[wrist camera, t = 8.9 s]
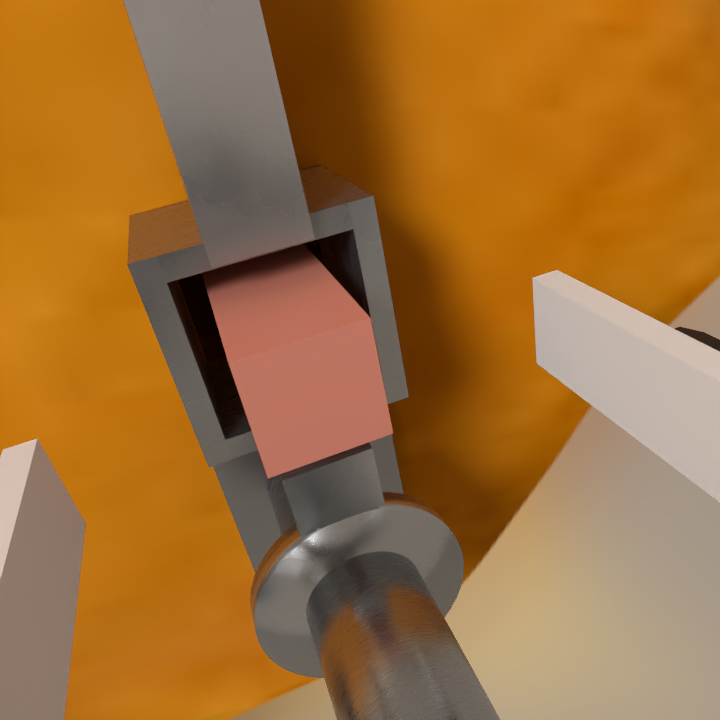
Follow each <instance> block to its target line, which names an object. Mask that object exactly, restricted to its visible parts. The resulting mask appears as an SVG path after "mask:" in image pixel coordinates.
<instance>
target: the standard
mask: <svg viewBox="0 0 720 720" xmlns="http://www.w3.org/2000/svg"><path fill="white" fill-rule="evenodd" d="M213 467H214V470H215V472H216V475H217V477H218V480H219V482H220V485H221V487H222V490H223V492H224V495H225V497H226V500H227V502H228V505H229V507H230V510H231V512H232V515H233V518H234V520H235V523H236V525H237V528H238V530H239V533H240V535H241V538H242V540H243V543H244V545H245V548H246V550H247V553H248V555H249V558H250V560H251V563H252V565H253V568H254V571H255V573H256V574H255V576H254V579H253V584H252V588H251V599H250V601H251V610H252V615H253V620H254V625H255V629H256V634H257V637H258V640H259V643H260V645H261V647H262V648H263V650H264V652H265V653H266V654H267V655H268V656H269V658H270V659H271V660H273V661H274V662H275V663H276V664H277V665H279V666H281V667H282V668H284V669H286V670H288V671H291V672H293V673H296V674H299V675H304V676H308V677H318V678H325V681H326V685H327V688H328V691H329V695H330V698H331V701H332V704H333V708H334V711H335V714H336V717H337V720H500V718H499V717H498V715H497V713H496V711H495V709H494V707H493V706H492V704H491V702H490V700H489V698H488V697H487V695H486V693H485V691H484V689H483V688H482V686H481V684H480V682H479V680H478V678H477V677H476V675H475V673H474V671H473V669H472V668H471V666H470V664H469V662H468V660H467V659H466V657H465V655H464V653H463V651H462V649H461V647H460V646H459V644H458V642H457V640H456V638H455V637H454V635H453V633H452V631H451V629H450V627H449V626H448V624H447V622H446V620H445V619H444V617H445V616H446V614H447V613H448V611H449V610H450V609H451V607H452V605H453V603H454V601H455V599H456V598H457V595H458V593H459V590H460V587H461V583H462V579H463V572H464V560H463V554H462V550H461V547H460V545H459V543H458V541H457V539H456V537H455V536H454V534H453V533H452V531H451V530H450V528H449V527H448V525H447V524H446V522H445V521H444V519H443V518H442V517H441V515H440V514H439V513H438V512H437V511H436V510H435V509H434V508H433V507H431V506H430V505H428V504H427V503H425V502H424V501H421V500H419V499H417V498H415V497H412V496H408V495H405V494H404V493H403V488H402V483H401V478H400V473H399V468H398V463H397V458H396V453H395V448H394V443H393V438H392V434H390V435H387V436H385V437H382V438H379V439H376V440H374V441H371V442H368V443H365V444H362V445H360V446H357V447H354V448H351V449H349V450H346V451H343V452H340V453H338V454H335V455H332V456H329V457H326V458H324V459H321V460H318V461H315V462H313V463H310V464H307V465H304V466H302V467H299V468H296V469H293V470H290V471H288V472H285V473H282V474H279V475H277V476H274V477H271V478H268V477H267V474H266V471H265V468H264V465H263V463H262V460H261V457H260V454H259V451H258V450H257V451H254V452H251V453H248V454H245V455H242V456H240V457H237V458H234V459H231V460H228V461H225V462H222V463H220V464H217V465H214V466H213Z"/></svg>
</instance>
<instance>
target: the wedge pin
mask: <svg viewBox="0 0 720 720" xmlns="http://www.w3.org/2000/svg"><path fill="white" fill-rule="evenodd" d="M202 276H203V279H204V283H205V286H206V289H207V293H208V296H209V299H210V303H211V306H212V310H213V313H214V316H215V320H216V323H217V326H218V330H219V333H220V336H221V340H222V343H223V347H224V350H225V353H226V357H227V360H228V363H229V366H230V369H231V372H232V375H233V378H234V381H235V384H236V387H237V390H238V392H239V395H240V398H241V401H242V404H243V407H244V410H245V413H246V416H247V419H248V422H249V425H250V427H251V430H252V433H253V436H254V439H255V442H256V445H257V448H258V451H259V454H260V457H261V460H262V463H263V465H264V468H265V471H266V474H267V477H268V478H271V477H274V476H277V475H279V474H282V473H285V472H288V471H290V470H293V469H296V468H299V467H302V466H304V465H307V464H310V463H313V462H315V461H318V460H321V459H324V458H326V457H329V456H332V455H335V454H338V453H340V452H343V451H346V450H349V449H351V448H354V447H357V446H360V445H362V444H365V443H368V442H371V441H374V440H376V439H379V438H382V437H385V436H387V435H390V434H393V429H392V424H391V419H390V414H389V409H388V404H387V399H386V394H385V389H384V384H383V379H382V374H381V369H380V364H379V358H378V353H377V348H376V343H375V338H374V333H373V328H372V323H371V318H370V317H369V316H368V315H367V313H366V312H365V311H364V310H363V309H362V308H361V307H360V306H359V305H358V303H357V302H356V301H355V300H354V299H353V298H352V297H351V296H350V295H349V293H348V292H347V291H346V290H345V289H344V288H343V287H342V286H341V285H340V283H339V282H338V281H337V280H336V279H335V278H334V277H333V276H332V275H331V273H330V272H329V271H328V270H327V269H326V268H325V267H324V266H323V265H322V263H321V262H320V261H319V260H318V259H317V258H316V257H315V256H314V255H313V253H312V252H311V251H310V250H309V249H308V248H307V247H306V246H305V245H304V243H303V244H300V245H296V246H293V247H290V248H286V249H283V250H279V251H276V252H272V253H269V254H265V255H262V256H258V257H255V258H251V259H248V260H244V261H241V262H238V263H234V264H231V265H227V266H224V267H220V268H217V269H213V270H210V271H206V272H203V273H202Z"/></svg>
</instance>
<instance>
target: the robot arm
mask: <svg viewBox="0 0 720 720" xmlns="http://www.w3.org/2000/svg"><path fill="white" fill-rule="evenodd" d="M533 298H534V319H535V340H536V361H537V364H538V365H539V366H541V367H542V368H543V369H545V370H546V371H547V372H549V373H550V374H551V375H553V376H554V377H555V378H557V379H558V380H559V381H560V382H562V383H563V384H564V385H566V386H567V387H568V388H570V389H571V390H572V391H574V392H575V393H576V394H578V395H579V396H580V397H581V398H583V399H584V400H585V401H587V402H588V403H589V404H591V405H592V406H593V407H595V408H596V409H598V410H599V411H600V412H601V413H603V414H604V415H605V416H606V417H608V418H609V419H610V420H612V421H613V422H614V423H616V424H617V425H619V426H620V427H621V428H622V429H624V430H625V431H626V432H627V433H629V434H630V435H631V436H633V437H634V438H635V439H637V440H638V441H639V442H641V443H642V444H643V445H645V446H646V447H647V448H649V449H650V450H651V451H652V452H654V453H655V454H656V455H658V456H659V457H661V458H662V459H663V460H664V461H666V462H667V463H668V464H670V465H671V466H672V467H674V468H675V469H676V470H677V471H679V472H680V473H681V474H683V475H684V476H685V477H687V478H688V479H689V480H691V481H692V482H693V483H694V484H696V485H697V486H698V487H700V488H701V489H702V490H704V491H705V492H706V493H708V494H709V495H710V496H712V497H713V498H714V499H715V500H717V501H718V502H720V340H719V339H717V338H715V337H712V336H710V335H708V334H706V333H704V332H700V331H696V330H691V329H687V328H683V327H678V328H675V329H673V328H671V327H669V326H667V325H665V324H663V323H662V322H660V321H658V320H656V319H654V318H652V317H650V316H648V315H646V314H644V313H642V312H640V311H638V310H636V309H634V308H632V307H630V306H628V305H626V304H624V303H622V302H620V301H618V300H616V299H614V298H612V297H610V296H608V295H606V294H604V293H602V292H600V291H598V290H596V289H594V288H592V287H590V286H588V285H586V284H584V283H582V282H580V281H578V280H576V279H574V278H572V277H570V276H568V275H566V274H564V273H562V272H560V271H558V270H555V271H552V272H549V273H546V274H543V275H540V276H537V277H534V278H533ZM85 525H86V523H85V522H84V520H83V518H82V516H81V514H80V513H79V511H78V509H77V507H76V506H75V504H74V502H73V500H72V499H71V497H70V495H69V493H68V492H67V490H66V488H65V486H64V484H63V483H62V481H61V479H60V477H59V476H58V474H57V472H56V470H55V469H54V467H53V465H52V463H51V462H50V460H49V458H48V456H47V454H46V453H45V451H44V449H43V447H42V446H41V444H40V442H39V440H38V439H34V440H31V441H28V442H25V443H22V444H19V445H16V446H13V447H10V448H7V449H4V450H3V451H2V454H1V457H0V720H64V715H65V706H66V697H67V688H68V679H69V670H70V661H71V652H72V643H73V634H74V625H75V616H76V607H77V598H78V589H79V579H80V570H81V561H82V552H83V543H84V534H85Z"/></svg>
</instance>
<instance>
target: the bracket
mask: <svg viewBox="0 0 720 720" xmlns="http://www.w3.org/2000/svg"><path fill="white" fill-rule="evenodd" d="M123 3H124V6H125V9H126V12H127V15H128V18H129V21H130V24H131V27H132V30H133V33H134V36H135V39H136V42H137V45H138V48H139V51H140V54H141V57H142V60H143V63H144V66H145V69H146V72H147V76H148V79H149V82H150V85H151V88H152V91H153V94H154V97H155V100H156V103H157V106H158V109H159V112H160V115H161V118H162V121H163V124H164V127H165V130H166V133H167V136H168V139H169V142H170V145H171V148H172V151H173V154H174V157H175V161H176V164H177V167H178V170H179V173H180V176H181V179H182V182H183V185H184V188H185V191H186V194H187V197H188V200H187V201H183V202H180V203H176V204H172V205H168V206H165V207H161V208H157V209H153V210H149V211H146V212H142V213H138V214H134V215H130V221H129V242H128V263H127V265H128V267H129V270H130V272H131V274H132V277H133V279H134V282H135V284H136V287H137V289H138V292H139V294H140V297H141V299H142V302H143V304H144V307H145V309H146V312H147V314H148V317H149V319H150V322H151V324H152V327H153V329H154V332H155V334H156V337H157V339H158V342H159V344H160V347H161V349H162V352H163V354H164V357H165V359H166V362H167V364H168V367H169V369H170V372H171V374H172V377H173V379H174V382H175V384H176V387H177V389H178V392H179V394H180V397H181V399H182V402H183V404H184V407H185V409H186V411H187V414H188V416H189V419H190V421H191V424H192V426H193V429H194V431H195V434H196V436H197V439H198V441H199V444H200V446H201V449H202V451H203V454H204V456H205V459H206V461H207V464H208V466H209V467H211V466H214V465H217V464H220V463H222V462H225V461H228V460H231V459H234V458H237V457H240V456H242V455H245V454H248V453H251V452H254V451H257V450H258V448H257V445H256V442H255V439H254V436H253V433H252V430H251V427H250V425H249V422H248V419H247V416H246V413H245V410H244V407H243V404H242V401H241V398H240V395H239V392H238V390H237V387H236V384H235V381H234V378H233V375H232V372H231V369H230V366H229V363H228V360H227V357H226V356H224V357H220V358H217V359H214V360H211V361H208V362H207V360H206V357H205V354H204V351H203V349H202V346H201V343H200V340H199V338H198V335H197V332H196V329H195V327H194V324H193V321H192V318H191V316H190V313H189V310H188V307H187V305H186V302H185V299H184V296H183V293H182V291H181V288H180V285H179V282H178V280H179V279H182V278H186V277H189V276H192V275H196V274H199V273H203V272H206V271H210V270H213V269H217V268H220V267H224V266H227V265H231V264H234V263H238V262H241V261H244V260H248V259H251V258H255V257H258V256H262V255H265V254H269V253H272V252H276V251H279V250H283V249H286V248H290V247H293V246H296V245H300V244H303V243H307V242H310V241H314V240H317V243H318V247H319V252H320V256H321V260H322V265H323V266H324V267H325V268H326V269H327V270H328V271H329V272H330V273H331V275H332V276H333V277H334V278H335V279H336V280H337V281H338V282H339V283H340V285H341V286H342V287H343V288H344V289H345V290H346V291H347V292H348V293H349V295H350V296H351V297H352V298H353V299H354V300H355V301H356V302H357V303H358V305H359V306H360V307H361V308H362V309H363V310H364V311H365V312H366V313H367V315H368V316H369V317H370V318H371V323H372V328H373V333H374V338H375V343H376V348H377V353H378V358H379V364H380V369H381V374H382V379H383V384H384V389H385V394H386V399H387V404H390V403H393V402H396V401H399V400H402V399H405V398H407V397H409V394H408V389H407V383H406V377H405V371H404V366H403V360H402V354H401V349H400V343H399V337H398V332H397V326H396V320H395V314H394V309H393V303H392V297H391V292H390V286H389V280H388V275H387V269H386V263H385V257H384V252H383V246H382V240H381V235H380V229H379V223H378V218H377V212H376V206H375V200H374V196H373V195H372V194H370V193H368V192H366V191H365V190H363V189H361V188H360V187H358V186H356V185H354V184H353V183H351V182H349V181H347V180H346V179H344V178H342V177H340V176H339V175H337V174H335V173H334V172H332V171H330V170H328V169H327V168H325V167H323V166H321V165H320V166H316V167H312V168H308V169H305V170H301V171H299V169H298V164H297V160H296V156H295V151H294V147H293V143H292V139H291V134H290V130H289V126H288V121H287V117H286V113H285V108H284V104H283V100H282V95H281V91H280V87H279V83H278V78H277V74H276V70H275V65H274V61H273V57H272V52H271V48H270V44H269V40H268V35H267V31H266V27H265V22H264V18H263V14H262V9H261V5H260V1H259V0H123Z"/></svg>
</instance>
